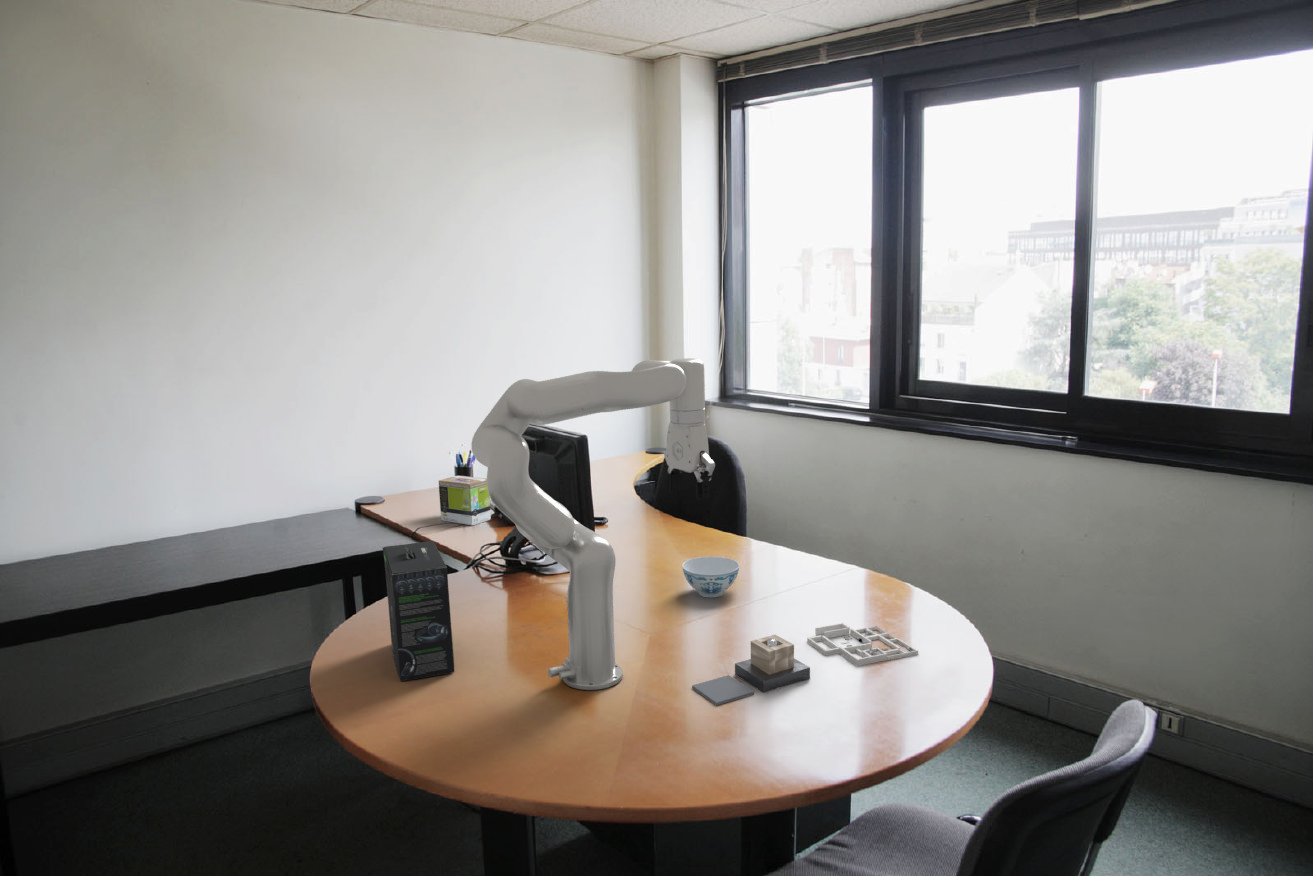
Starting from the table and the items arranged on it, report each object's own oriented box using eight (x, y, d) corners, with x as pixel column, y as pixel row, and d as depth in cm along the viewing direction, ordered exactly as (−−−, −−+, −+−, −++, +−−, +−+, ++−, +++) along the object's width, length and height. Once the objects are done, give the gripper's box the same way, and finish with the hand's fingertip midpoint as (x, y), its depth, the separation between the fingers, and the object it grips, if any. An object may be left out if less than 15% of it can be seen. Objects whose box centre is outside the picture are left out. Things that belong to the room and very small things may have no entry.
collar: (769, 674, 187) (769, 651, 186) (750, 663, 192) (750, 641, 191) (793, 667, 190) (794, 644, 189) (775, 656, 195) (775, 634, 194)
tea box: (492, 519, 319) (489, 478, 316) (471, 526, 310) (469, 484, 308) (460, 514, 327) (457, 474, 324) (440, 521, 318) (437, 479, 316)
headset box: (389, 644, 213) (381, 537, 208) (442, 635, 217) (434, 531, 212) (398, 683, 192) (389, 566, 188) (456, 673, 196) (448, 558, 192)
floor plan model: (777, 642, 210) (777, 634, 209) (870, 626, 218) (870, 618, 218) (818, 675, 192) (819, 666, 192) (918, 655, 201) (918, 647, 201)
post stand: (763, 692, 184) (763, 655, 183) (735, 674, 193) (734, 638, 191) (809, 678, 190) (810, 642, 189) (780, 661, 199) (780, 626, 197)
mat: (716, 705, 179) (716, 702, 179) (692, 688, 187) (692, 685, 187) (753, 694, 184) (753, 691, 184) (728, 677, 191) (728, 675, 191)
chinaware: (747, 587, 245) (747, 560, 244) (727, 606, 232) (727, 577, 230) (695, 580, 251) (695, 553, 250) (673, 598, 238) (673, 570, 237)
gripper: (650, 414, 199) (652, 490, 203) (697, 424, 185) (699, 505, 188) (678, 410, 204) (680, 485, 207) (726, 419, 189) (727, 499, 193)
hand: (689, 494), depth 198 cm, fingers open, 9 cm apart
